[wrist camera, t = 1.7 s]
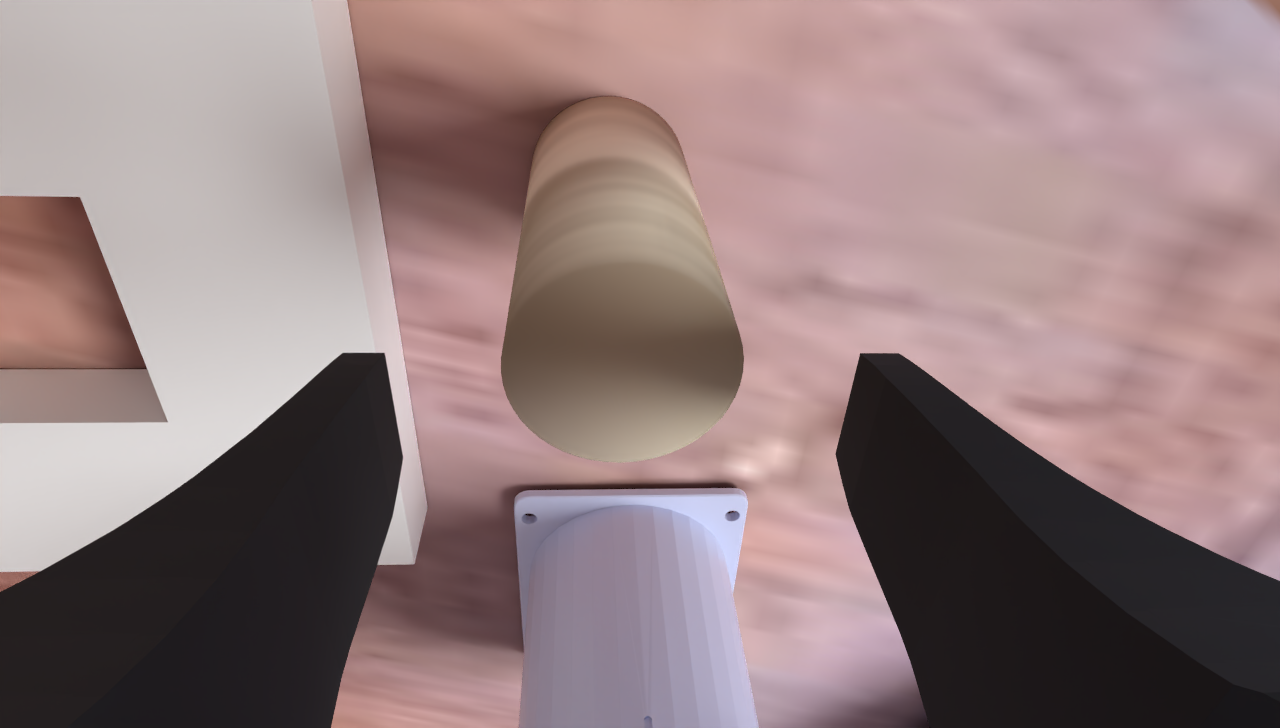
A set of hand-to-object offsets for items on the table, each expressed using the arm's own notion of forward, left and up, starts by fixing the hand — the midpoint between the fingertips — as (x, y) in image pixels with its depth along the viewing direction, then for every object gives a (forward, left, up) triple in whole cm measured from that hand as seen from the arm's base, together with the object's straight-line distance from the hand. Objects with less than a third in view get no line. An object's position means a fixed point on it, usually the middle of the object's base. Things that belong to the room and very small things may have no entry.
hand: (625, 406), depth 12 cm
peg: (0, 0, -10) cm, 10 cm away
